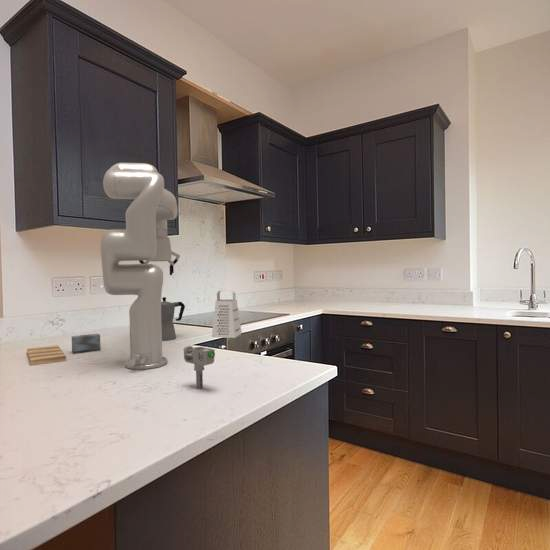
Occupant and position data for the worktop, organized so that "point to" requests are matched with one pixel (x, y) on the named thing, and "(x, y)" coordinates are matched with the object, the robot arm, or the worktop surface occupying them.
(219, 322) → the grater
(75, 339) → the sanding block
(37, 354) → the pine board
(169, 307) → the coffeepot
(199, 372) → the mechanical component
